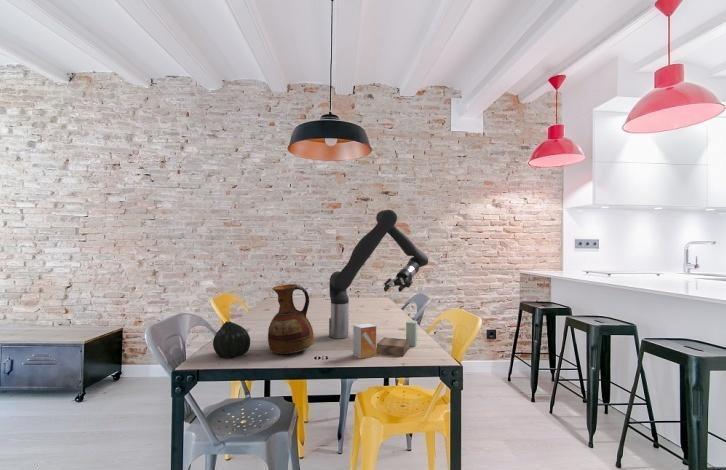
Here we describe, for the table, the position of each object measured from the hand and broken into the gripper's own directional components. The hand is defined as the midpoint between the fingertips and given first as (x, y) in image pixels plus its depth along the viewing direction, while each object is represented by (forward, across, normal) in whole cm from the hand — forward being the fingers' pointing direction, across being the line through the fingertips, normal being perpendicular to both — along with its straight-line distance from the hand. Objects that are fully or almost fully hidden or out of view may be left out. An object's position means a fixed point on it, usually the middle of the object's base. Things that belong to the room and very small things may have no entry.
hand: (391, 290), depth 183 cm
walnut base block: (+23, +8, +18) cm, 30 cm away
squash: (+66, -43, -6) cm, 79 cm away
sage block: (+11, +10, +23) cm, 28 cm away
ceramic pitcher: (+48, -28, +4) cm, 56 cm away
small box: (+36, +2, +12) cm, 38 cm away
